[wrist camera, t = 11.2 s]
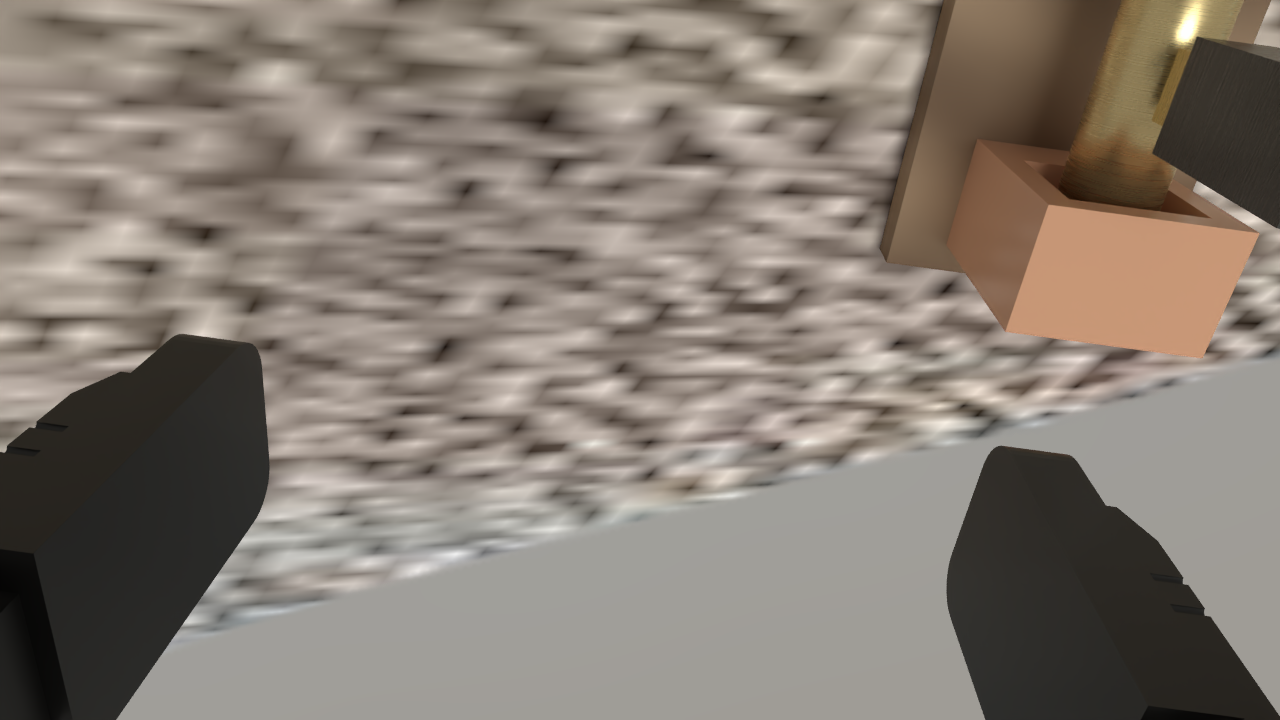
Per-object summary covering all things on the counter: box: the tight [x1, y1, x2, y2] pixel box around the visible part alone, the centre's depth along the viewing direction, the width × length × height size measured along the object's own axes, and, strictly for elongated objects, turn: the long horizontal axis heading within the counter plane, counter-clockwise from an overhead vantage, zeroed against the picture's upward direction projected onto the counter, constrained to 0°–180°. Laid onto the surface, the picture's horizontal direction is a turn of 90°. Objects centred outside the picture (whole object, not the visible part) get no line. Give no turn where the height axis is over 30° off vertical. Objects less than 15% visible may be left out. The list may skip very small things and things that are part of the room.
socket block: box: [946, 139, 1260, 358], centre depth 30 cm, size 4×6×8 cm, turn 83°
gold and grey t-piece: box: [1057, 0, 1280, 229], centre depth 23 cm, size 13×3×11 cm, turn 173°
